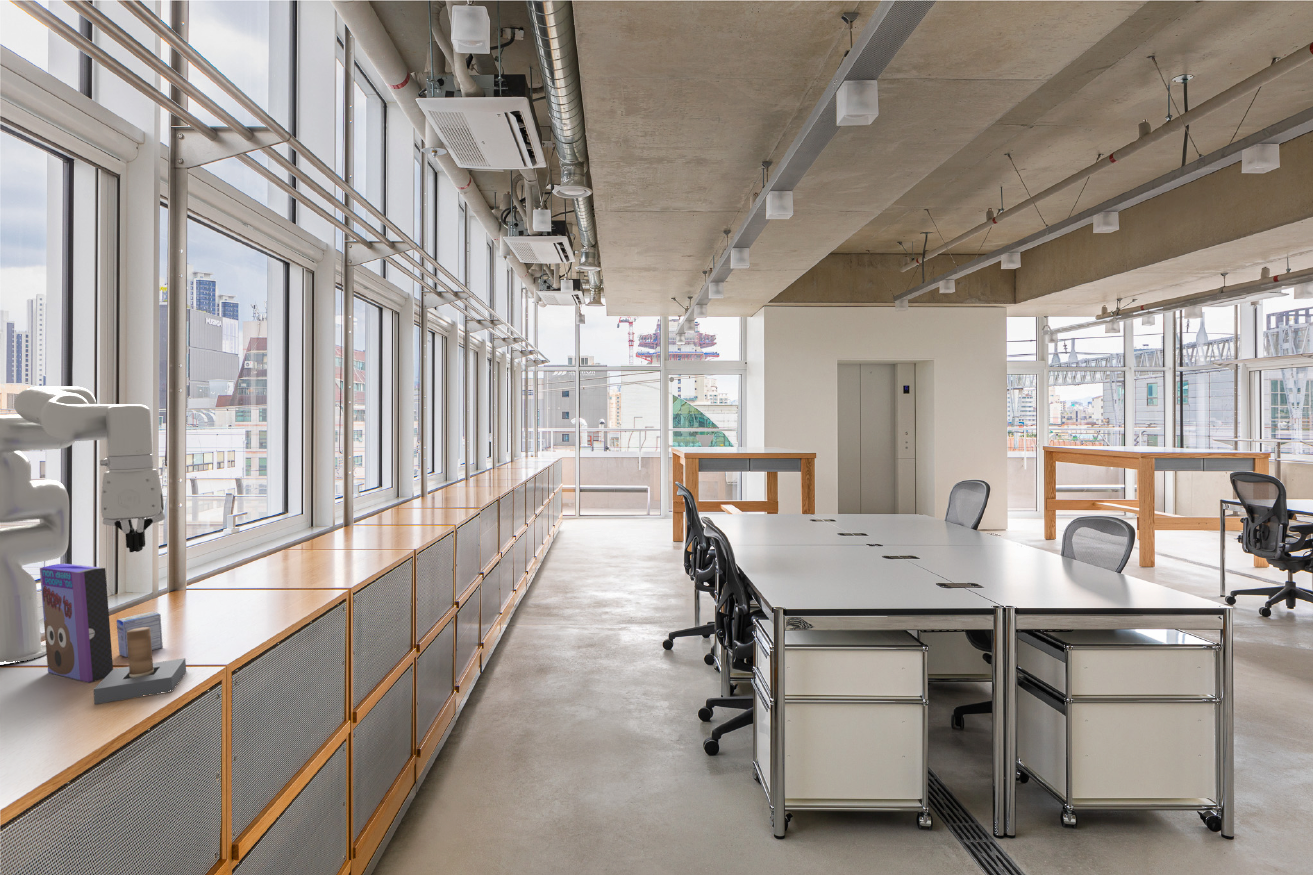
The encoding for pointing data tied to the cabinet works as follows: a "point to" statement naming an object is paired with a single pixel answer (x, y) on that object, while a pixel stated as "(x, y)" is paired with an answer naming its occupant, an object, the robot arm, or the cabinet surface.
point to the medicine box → (139, 621)
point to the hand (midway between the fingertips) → (136, 550)
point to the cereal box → (76, 621)
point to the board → (139, 682)
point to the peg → (140, 652)
